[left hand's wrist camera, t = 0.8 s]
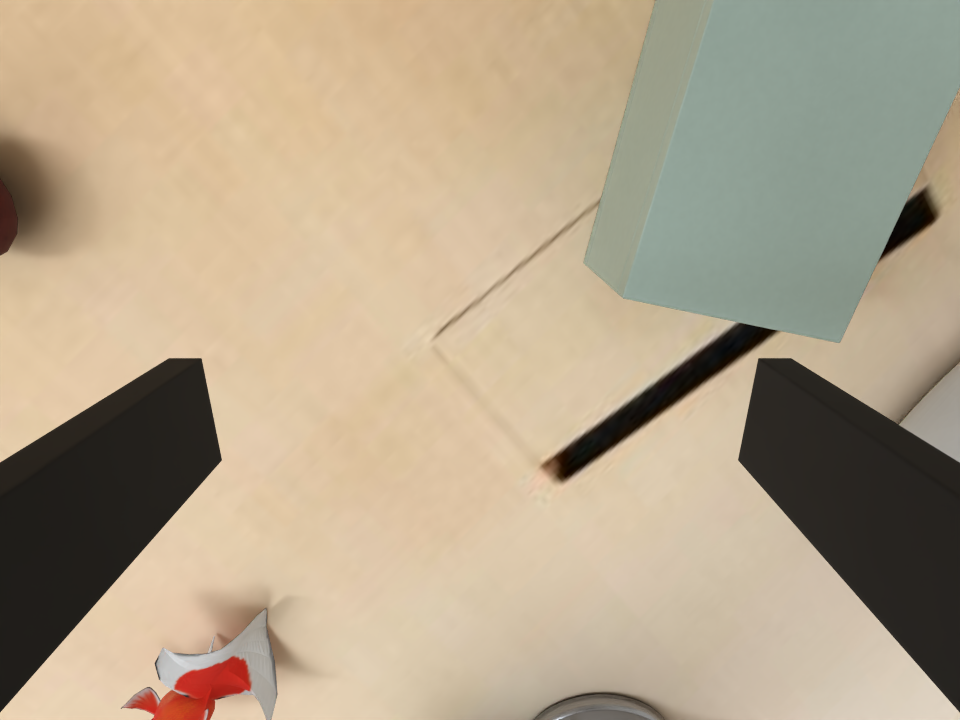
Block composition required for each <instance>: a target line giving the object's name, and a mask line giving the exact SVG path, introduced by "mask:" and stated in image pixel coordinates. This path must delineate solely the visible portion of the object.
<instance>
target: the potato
mask: <svg viewBox="0 0 960 720" xmlns="http://www.w3.org/2000/svg"><path fill="white" fill-rule="evenodd" d="M17 220H18V218H17V214H16V211H15V207H14V204H13V200H12V196H11V195H10V193H9V192H8V190H7V188H6V187H5V185H4V184H3V182H2V181H1V179H0V255H2V254H4V253H6V252H7V251H8V250H9V248H10V246H11V244H12V242H13V240H14V238H15V236H16V235H17Z"/></svg>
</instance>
